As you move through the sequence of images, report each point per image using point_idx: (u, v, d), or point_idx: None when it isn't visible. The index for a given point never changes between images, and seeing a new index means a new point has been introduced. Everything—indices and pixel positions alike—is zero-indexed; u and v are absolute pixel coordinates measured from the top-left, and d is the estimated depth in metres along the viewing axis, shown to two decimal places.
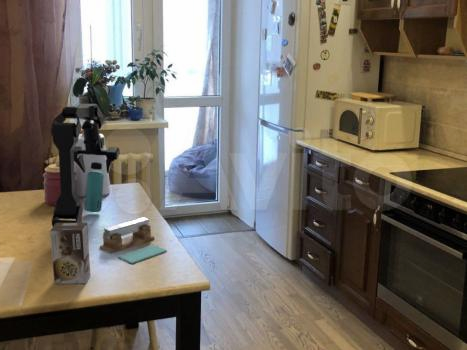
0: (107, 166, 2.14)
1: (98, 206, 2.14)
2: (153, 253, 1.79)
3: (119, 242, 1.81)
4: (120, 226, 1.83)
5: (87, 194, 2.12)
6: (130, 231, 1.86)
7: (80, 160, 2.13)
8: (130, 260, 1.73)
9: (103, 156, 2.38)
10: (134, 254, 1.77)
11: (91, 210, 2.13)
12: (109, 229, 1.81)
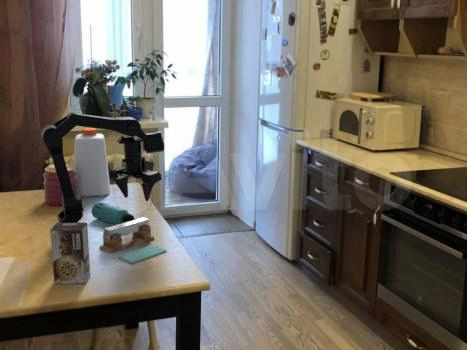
0: (144, 191, 1.88)
1: None
2: (153, 253, 1.79)
3: (119, 242, 1.81)
4: (120, 226, 1.83)
5: (102, 217, 2.06)
6: (130, 231, 1.86)
7: (121, 182, 1.93)
8: (130, 260, 1.73)
9: (103, 156, 2.38)
10: (134, 254, 1.77)
11: None
12: (109, 229, 1.81)
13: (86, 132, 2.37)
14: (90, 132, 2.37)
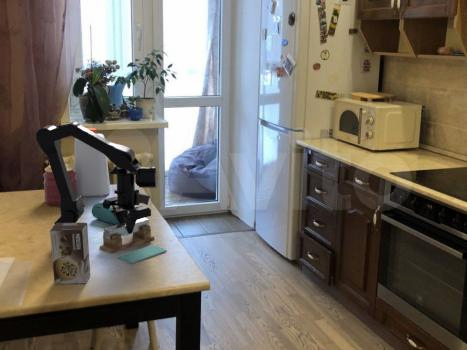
0: (126, 224, 1.83)
1: None
2: (153, 253, 1.79)
3: (119, 242, 1.81)
4: (120, 226, 1.83)
5: (102, 217, 2.06)
6: None
7: (118, 214, 1.85)
8: (130, 260, 1.73)
9: (103, 156, 2.38)
10: (134, 254, 1.77)
11: None
12: (109, 229, 1.81)
13: None
14: None
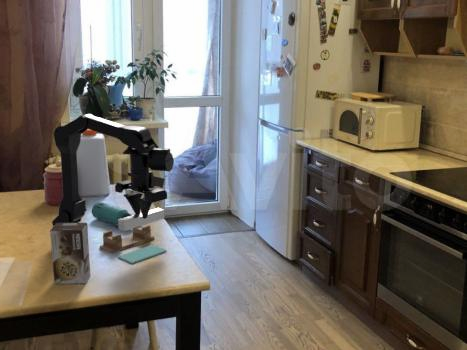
0: (141, 208, 1.73)
1: None
2: (153, 253, 1.79)
3: (119, 242, 1.81)
4: (135, 217, 1.73)
5: (102, 217, 2.06)
6: (145, 222, 1.76)
7: (132, 198, 1.75)
8: (130, 260, 1.73)
9: (103, 156, 2.38)
10: (134, 254, 1.77)
11: None
12: (123, 220, 1.71)
13: (86, 132, 2.37)
14: (90, 132, 2.37)
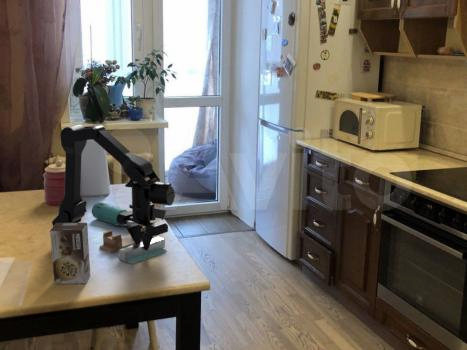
0: (142, 240, 1.74)
1: None
2: (153, 253, 1.79)
3: (119, 242, 1.81)
4: (136, 247, 1.75)
5: (102, 217, 2.06)
6: (146, 252, 1.78)
7: (133, 230, 1.77)
8: (130, 260, 1.73)
9: (103, 156, 2.38)
10: None
11: None
12: (124, 250, 1.73)
13: None
14: None
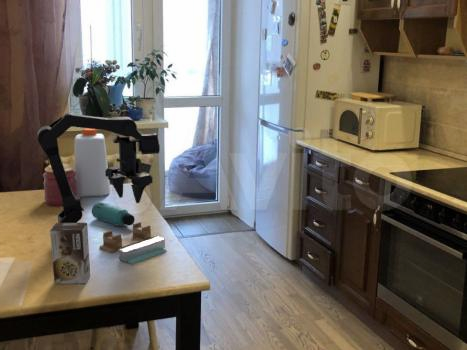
0: (134, 193, 1.86)
1: None
2: (153, 253, 1.79)
3: (119, 242, 1.81)
4: (136, 247, 1.75)
5: (102, 217, 2.06)
6: (146, 252, 1.78)
7: (115, 181, 1.92)
8: (130, 260, 1.73)
9: (103, 156, 2.38)
10: None
11: None
12: (124, 250, 1.73)
13: (86, 132, 2.37)
14: (90, 132, 2.37)
